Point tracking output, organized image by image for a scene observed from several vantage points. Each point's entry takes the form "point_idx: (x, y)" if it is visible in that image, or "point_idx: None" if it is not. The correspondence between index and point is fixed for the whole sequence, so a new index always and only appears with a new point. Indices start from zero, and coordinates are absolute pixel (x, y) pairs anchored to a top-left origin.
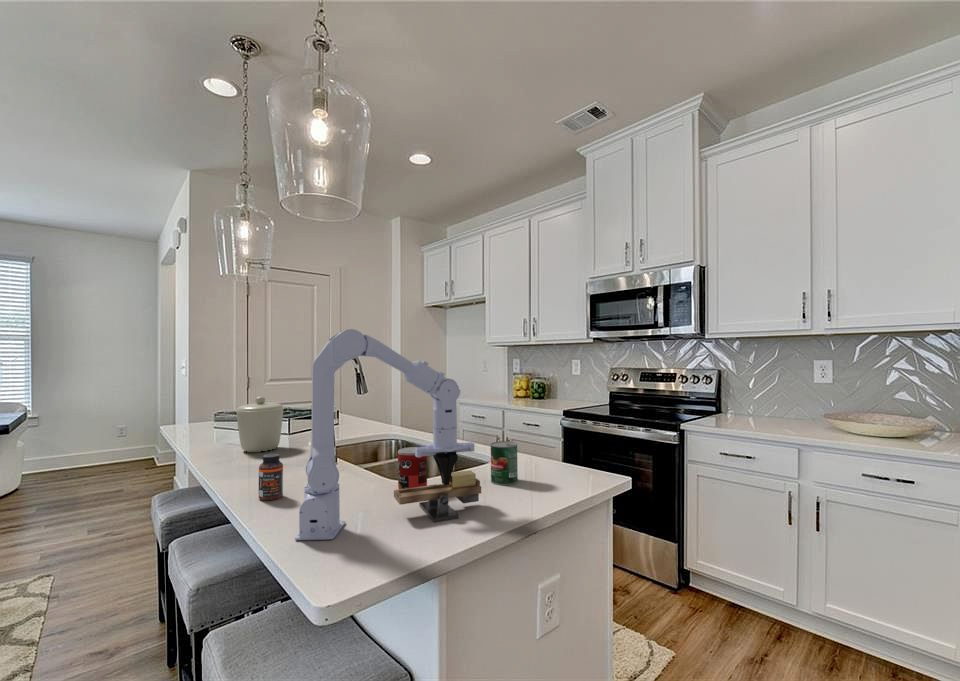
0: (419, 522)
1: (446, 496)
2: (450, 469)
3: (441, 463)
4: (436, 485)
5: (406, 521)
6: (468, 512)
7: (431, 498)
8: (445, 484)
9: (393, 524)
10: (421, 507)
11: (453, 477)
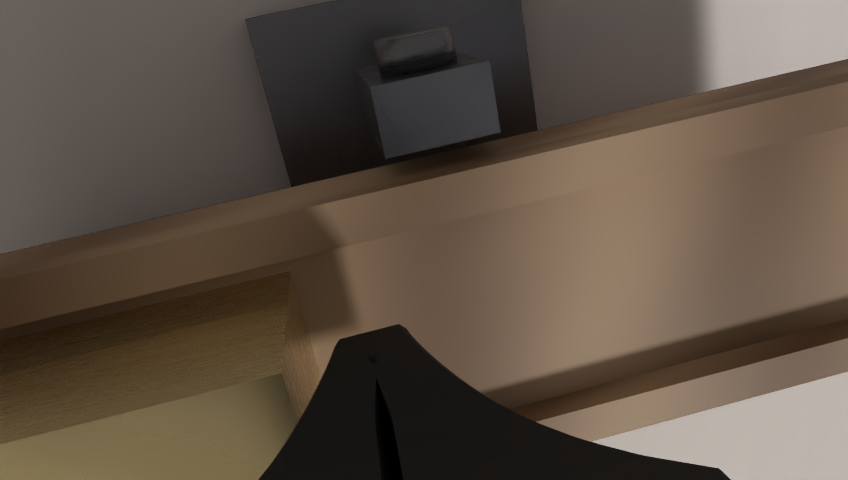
0: (626, 5)
1: (393, 81)
2: (319, 452)
3: (612, 461)
4: None
5: (725, 59)
6: (133, 165)
7: (572, 127)
8: (393, 325)
9: (835, 14)
10: None
11: (261, 368)
